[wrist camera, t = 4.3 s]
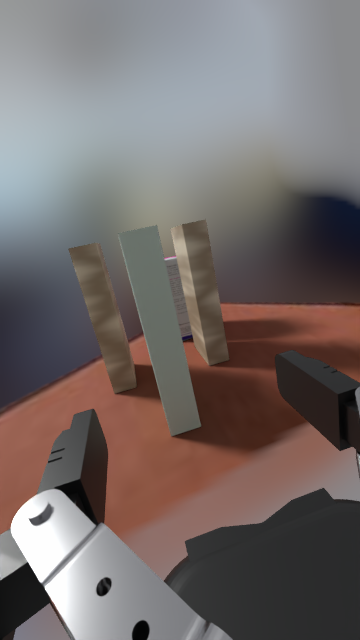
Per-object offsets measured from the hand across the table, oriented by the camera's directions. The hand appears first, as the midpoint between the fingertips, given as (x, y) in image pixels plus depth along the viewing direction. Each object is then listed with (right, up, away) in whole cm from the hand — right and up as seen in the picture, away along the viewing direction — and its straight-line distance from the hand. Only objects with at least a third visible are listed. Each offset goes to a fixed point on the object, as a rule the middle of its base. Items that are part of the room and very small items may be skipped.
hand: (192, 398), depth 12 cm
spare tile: (-1, -4, +12) cm, 13 cm away
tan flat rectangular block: (-7, -3, +20) cm, 21 cm away
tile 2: (+3, -1, +22) cm, 22 cm away
